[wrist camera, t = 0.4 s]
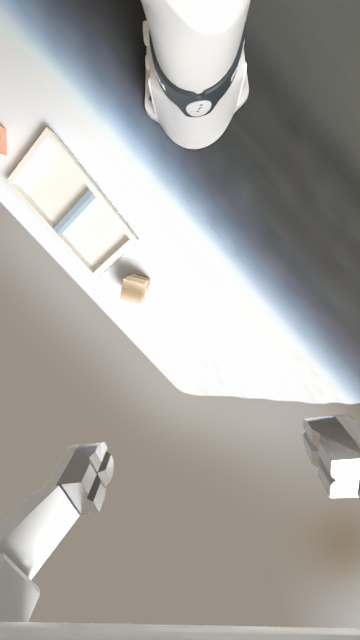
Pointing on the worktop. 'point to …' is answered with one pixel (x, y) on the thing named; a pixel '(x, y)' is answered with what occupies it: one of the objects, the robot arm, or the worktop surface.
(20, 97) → the worktop surface
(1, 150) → the terracotta block
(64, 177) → the divided tray
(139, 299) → the block
